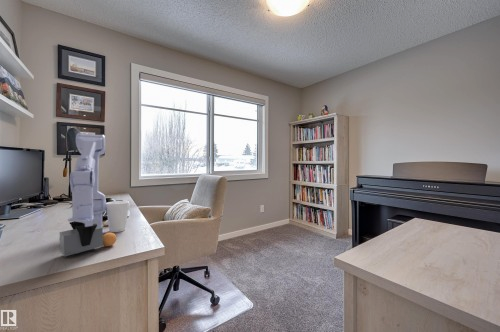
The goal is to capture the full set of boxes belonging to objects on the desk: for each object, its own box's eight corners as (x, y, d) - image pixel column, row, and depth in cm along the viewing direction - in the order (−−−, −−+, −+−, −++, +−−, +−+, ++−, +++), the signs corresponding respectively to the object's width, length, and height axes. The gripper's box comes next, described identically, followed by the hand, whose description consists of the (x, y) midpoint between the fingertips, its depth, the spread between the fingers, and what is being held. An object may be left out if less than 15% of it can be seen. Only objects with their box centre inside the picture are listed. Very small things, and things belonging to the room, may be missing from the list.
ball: (101, 231, 80) (115, 231, 84) (97, 244, 79) (111, 243, 83) (105, 234, 77) (119, 234, 81) (101, 248, 76) (116, 247, 80)
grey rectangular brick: (60, 251, 72) (59, 232, 72) (97, 241, 80) (96, 224, 80) (64, 256, 68) (63, 236, 68) (103, 245, 76) (102, 227, 76)
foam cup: (117, 233, 93) (118, 204, 93) (100, 232, 95) (100, 203, 95) (133, 228, 102) (134, 201, 103) (117, 226, 104) (117, 200, 104)
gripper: (63, 203, 75) (63, 241, 75) (73, 209, 66) (73, 252, 66) (87, 200, 81) (87, 236, 81) (100, 205, 72) (100, 245, 72)
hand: (83, 242), depth 74 cm, fingers closed on grey rectangular brick, 6 cm apart
